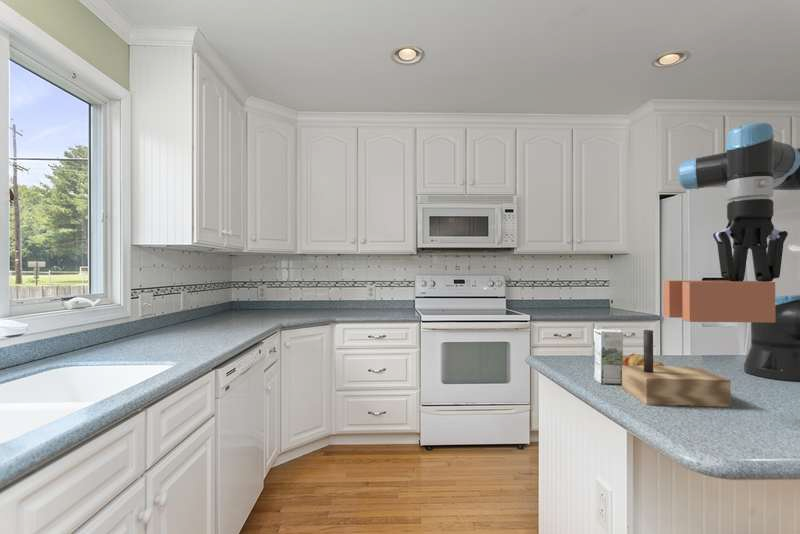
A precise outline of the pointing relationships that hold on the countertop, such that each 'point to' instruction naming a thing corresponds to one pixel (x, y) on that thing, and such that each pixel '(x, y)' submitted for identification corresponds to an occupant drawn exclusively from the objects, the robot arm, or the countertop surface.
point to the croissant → (637, 361)
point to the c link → (719, 301)
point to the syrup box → (608, 355)
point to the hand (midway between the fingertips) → (750, 312)
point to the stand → (674, 383)
